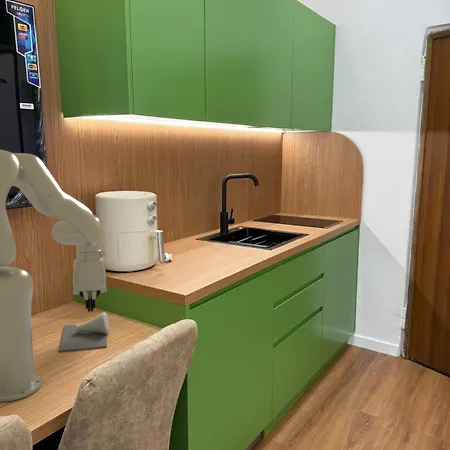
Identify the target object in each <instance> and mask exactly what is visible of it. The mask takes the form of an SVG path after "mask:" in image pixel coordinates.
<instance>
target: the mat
mask: <svg viewBox="0 0 450 450" xmlns="http://www.w3.org/2000/svg"><path fill="white" fill-rule="evenodd" d="M107 344H108V341H107V334H101V333H94V332H81V333H79V334H77V332H76V324H68V325H67V324H66V325H64V326H63V331H62V335H61V340H60V343H59V348H58V353H64V352H73V351H74V352H75V351H83V350H84V351H85V350H93V349H95V350H96V349H104V348H107V347H108V345H107Z"/></svg>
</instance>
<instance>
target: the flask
mask: <svg viewBox="0 0 450 450" xmlns="http://www.w3.org/2000/svg"><path fill="white" fill-rule="evenodd" d="M75 325H76V332H77V334H79V333H81V332H94V333H101V334H107V335H108V334H109V332H110V322H109V317H108V314H107V313H106V311H103V312H101V313H99V314H98V315H97V316H95V317H94V318H91V319H90V320H88V321H86V322H83V323H80V324H79V323H76V324H75Z"/></svg>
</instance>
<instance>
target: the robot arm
mask: <svg viewBox="0 0 450 450" xmlns="http://www.w3.org/2000/svg"><path fill="white" fill-rule="evenodd" d="M12 187H16V188H18V189H19V191H21V193H22V194H23V195H24V196H25V198H26V199H27V200H28V201H29V203H30V205H32V206H33V208H34V209H35V210H36V211H37V212H38V213H40V214H43V215H44V216H47V217H49V218H53V219H56V220H59V221H57V222H55V224H54V225H52V229H51V236H52V239H53V240H54V241H55V242H56V243H58V244H61V245H67V246H68V245H69V246H75V255H76V258H75V259H74V260H73V267H72V268H73V269H72V288H73V289H72V295H77V296H80V297H82V298H83V299H84V301H85V302H84V303H85V310H86V309H87V312H88V313H90V312H92V313H93V312H94V309H96V299H97V298H98V297H99V295H101V294H104V293H107V292H108V289H107V275H106V274H107V273H106V265H105V260H104V258H103V257H104V256H106V251H104V250H101V249H102V248H101V246H102V244H101V238H102V229H101V222H100V219H99V218H98V217H95V215H94V214H93V212H92V211H91V210H90V209H89V208H88V207H87V206H85V205H84V204H83V203H82V202H80V201H78V200H76V199H75V198H73V197H72V196H71V195H69V194H67V193H65V192H64V191H63V190H62V189H61V187H60V186H59V184H58V183H57V181H56V180H55V178H54V177H53V176H52V174H51V172H50V171H49V170H48V168H47V167H46V166H45V164H44V163H43V161H42V160H41V159H40V157H38V156H37V155H34V154H31V153H24V152H22V153H21V152H19V153H18V152H10V151H8V150H4V149H0V403H1V402H3V403H4V402H12V401H17V400H21V399H24V398H25V397H26V398H27V397H29V396H31V395H32V394H34V393H35V392H36V391H38V390H39V388H40V387H41V385H42V378H41V376H40V375H39V374H37V373H35V365H34V346H33V330H32V300H33V295H34V289H35V288H34V280H33V277H32V276H31V274H30V273H29V272H28V271H27V270H24V269H21V268H18V267H13V266H9V265H10V264H12V263H13V261H14V260H15V259H16V256H17V246H16V241H15V239H14V234H13V231H12V228H11V224H10V221H9V217H8V214H7V213H8V212H7V208H6V203H7V198H8V194H9V192H10V190H11V188H12ZM89 292H92V294H91V296H90V295H89Z"/></svg>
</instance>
